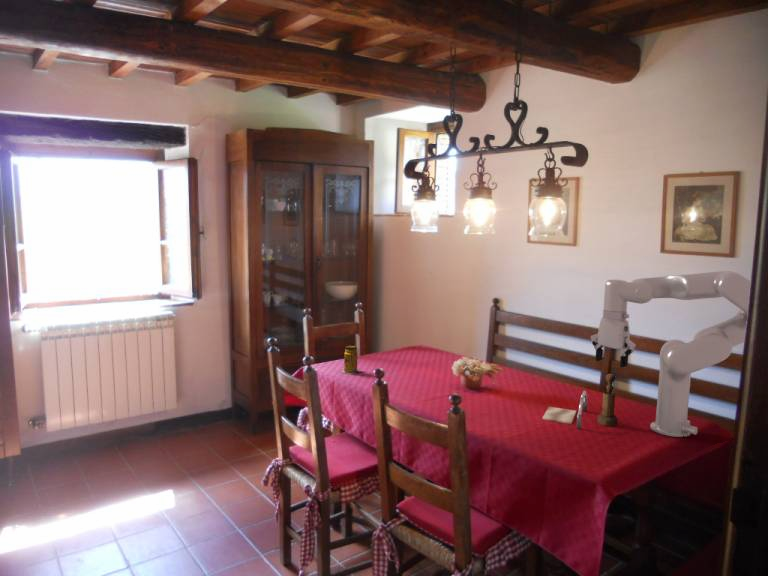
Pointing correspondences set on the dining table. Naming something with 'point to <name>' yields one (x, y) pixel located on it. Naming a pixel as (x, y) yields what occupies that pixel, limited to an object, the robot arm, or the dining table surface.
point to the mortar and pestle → (608, 404)
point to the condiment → (350, 360)
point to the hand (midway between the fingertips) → (610, 363)
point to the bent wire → (581, 408)
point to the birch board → (559, 415)
